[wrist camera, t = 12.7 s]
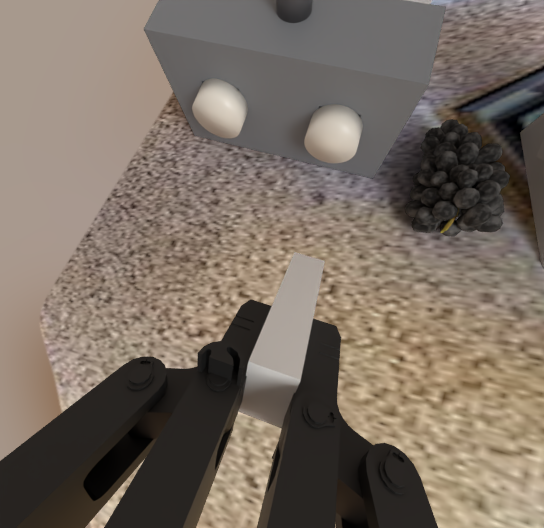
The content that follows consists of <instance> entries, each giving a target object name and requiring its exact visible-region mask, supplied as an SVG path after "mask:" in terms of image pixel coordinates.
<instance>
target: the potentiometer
mask: <svg viewBox="0 0 544 528" xmlns="http://www.w3.org/2000/svg"><path fill="white" fill-rule="evenodd" d="M312 3H313V0H276V11H277V15H278V17H279V18H280V19H281V20H283V21H285V22H288V23H298V22H302V21H304V20H305V19H307V18H308V17H309V16H310V14H311V12H312Z"/></svg>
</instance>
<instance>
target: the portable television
mask: <svg viewBox="0 0 544 528" xmlns="http://www.w3.org/2000/svg"><path fill="white" fill-rule="evenodd" d="M520 135H521V142H522V148H523V154H524V160H525V167H526V173H527V179H528V185H529V192H530V198H531V204H532V210H533V217H534V223H535V229H536V235H537V241H538V248H539V254H540V260H541V264H542V266H543V268H544V113H543V114H542V115H541V116H539V117H538V118H537V119H536V120H535V121H533V122H532V123H531V124H530V125H529V126H527V127H526V128H525V129H524V130H522V131H521V132H520Z"/></svg>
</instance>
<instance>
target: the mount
mask: <svg viewBox="0 0 544 528" xmlns="http://www.w3.org/2000/svg"><path fill="white" fill-rule="evenodd" d="M445 9H446V7H444V6H437V5H431V4H425V3H419V2H412V1H406V0H313V3H312V12H311V14H310V16H309V17H308V18H307V19H305V20H304V21H302V22H298V23H288V22H285V21H283V20H281V19H280V18H279V17H278V15H277V11H276V0H159V1H158V3H157V5H156V7H155V9H154V10H153V12H152V14H151V16H150V18H149V20H148V22H147V24H146V26H145V27H144V31H145V33H146V35H147V37H148V39H149V41H150V44H151V46H152V48H153V50H154V52H155V54H156V56H157V58H158V60H159V62H160V64H161V66H162V69H163V71H164V73H165V75H166V77H167V79H168V81H169V83H170V85H171V87H172V89H173V91H174V93H175V96H176V98H177V100H178V102H179V104H180V106H181V108H182V110H183V112H184V114H185V116H186V118H187V121H188V123H189V125H190V127H191V129H192V131H193V133H194V135H195V136H198V137H202V138H207V139H211V140H215V141H219V142H223V143H227V144H231V145H236V146H240V147H244V148H248V149H252V150H256V151H260V152H265V153H269V154H273V155H277V156H281V157H285V158H289V159H294V160H298V161H302V162H306V163H310V164H314V165H319V166H323V167H327V168H331V169H335V170H339V171H343V172H348V173H352V174H356V175H360V176H364V177H368V178H372V179H373V178H374V176H375V174H376V173H377V171H378V169H379V168H380V166H381V164H382V163H383V161H384V159H385V158H386V156H387V154H388V152H389V151H390V149H391V147H392V146H393V144H394V142H395V141H396V139H397V137H398V136H399V134H400V132H401V131H402V129H403V127H404V126H405V124H406V122H407V121H408V119H409V117H410V115H411V114H412V112H413V110H414V109H415V107H416V105H417V104H418V102H419V100H420V99H421V97H422V95H423V94H424V92H425V90H426V89H427V87H428V85H429V82H430V77H431V72H432V68H433V63H434V59H435V54H436V50H437V45H438V41H439V36H440V32H441V27H442V23H443V18H444V14H445ZM212 78H213V79H220V80H223V81H226V82H228V83H229V84H231V85H232V86H234V87H235V88H238V89H239V91H240V93H241V94H242V95H243V97H244V98H245V100H246V103H247V106H248V113H247V116H246V118H245V121H244V123H243V126H242V129H241V131H240V133H239V135H238V136H237V137H235V138H222V137H219V136H216V135H214V134H212V133H211V132H209V131H207V130H206V129H205V128H204V127H203V126H201V125H200V123H199V122H198V121H197V120H196V118H195V116H194V114H193V111H192V106H193V103H194V101H195V98H196V96H197V94H198V92H199V89H200V87H201V85H202V83H203V82H204V81H205V80H207V79H212ZM331 104H338V105H343V106H346V107H349V108H350V109H352V110H354V111H355V112H356V113H357V114H358V115H359V117H360V118H361V120H362V124H363V128H362V133H361V136H360V140H359V144H358V147H357V151H356V153H355V155H354V156H353V157H352V158H351V159H350V160H348V161H346V162H342V163H327V162H323V161H320V160H318V159H316V158H315V157H313V156H312V155H311V154H310V153H309V152H308V151H307V149H306V147H305V144H304V140H305V136H306V133H307V130H308V127H309V124H310V121H311V118H312V115H313V114H314V112H315V111H316V110H318V109H319V108H321V107H323V106H326V105H331Z"/></svg>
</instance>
